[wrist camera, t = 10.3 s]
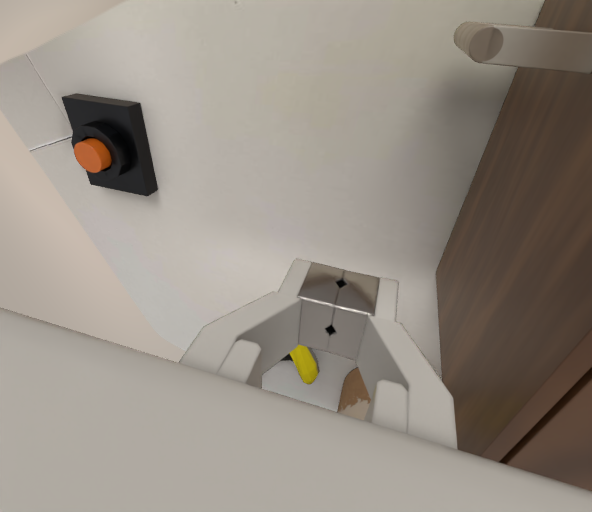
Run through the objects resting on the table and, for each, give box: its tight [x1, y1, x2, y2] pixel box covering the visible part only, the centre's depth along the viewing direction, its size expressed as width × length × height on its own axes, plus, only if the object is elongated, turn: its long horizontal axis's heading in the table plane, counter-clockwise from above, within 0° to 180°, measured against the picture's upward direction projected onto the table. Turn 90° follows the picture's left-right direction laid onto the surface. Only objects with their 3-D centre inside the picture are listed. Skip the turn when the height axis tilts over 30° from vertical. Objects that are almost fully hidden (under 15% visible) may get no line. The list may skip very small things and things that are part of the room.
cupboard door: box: [436, 0, 592, 462], centre depth 24 cm, size 7×26×24 cm, turn 177°
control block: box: [62, 94, 158, 196], centre depth 42 cm, size 11×9×4 cm
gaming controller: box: [280, 345, 319, 384], centre depth 54 cm, size 15×6×10 cm
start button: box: [74, 138, 112, 173], centre depth 40 cm, size 4×4×2 cm
